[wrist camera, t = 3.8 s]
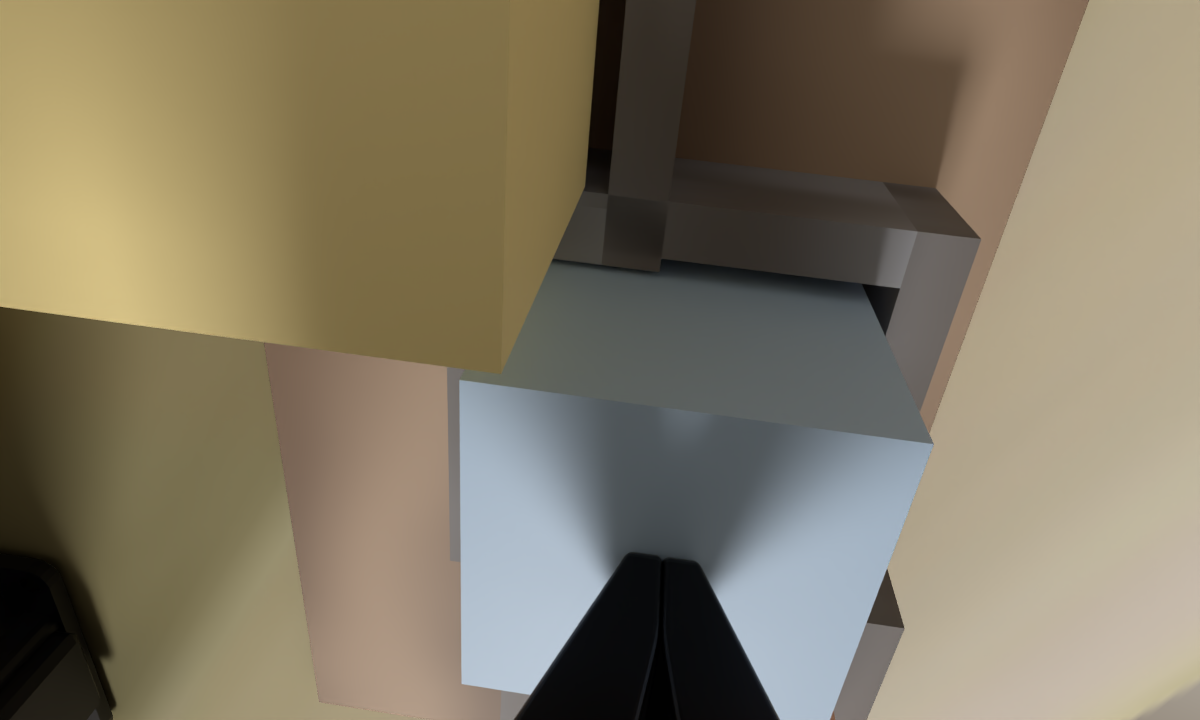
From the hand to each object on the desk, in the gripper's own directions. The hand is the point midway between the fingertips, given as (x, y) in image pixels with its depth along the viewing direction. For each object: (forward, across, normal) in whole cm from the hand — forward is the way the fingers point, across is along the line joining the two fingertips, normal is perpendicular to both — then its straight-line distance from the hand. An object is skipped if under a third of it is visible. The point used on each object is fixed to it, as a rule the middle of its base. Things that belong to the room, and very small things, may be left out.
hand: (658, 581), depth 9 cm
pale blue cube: (+5, 0, 0) cm, 5 cm away
